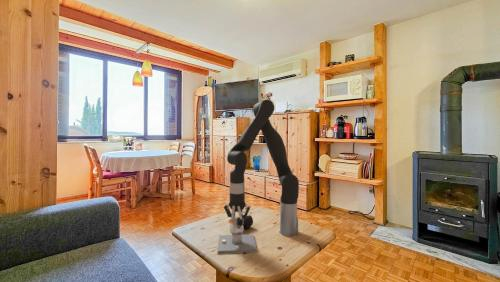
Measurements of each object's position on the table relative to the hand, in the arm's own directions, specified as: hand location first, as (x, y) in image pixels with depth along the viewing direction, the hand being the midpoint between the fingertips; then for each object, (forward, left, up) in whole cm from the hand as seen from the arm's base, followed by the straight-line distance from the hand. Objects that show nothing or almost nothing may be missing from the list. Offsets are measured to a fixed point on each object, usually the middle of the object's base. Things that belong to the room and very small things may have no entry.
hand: (237, 225), depth 112 cm
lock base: (0, 0, -9) cm, 9 cm away
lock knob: (0, +1, -3) cm, 3 cm away
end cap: (-4, -19, -10) cm, 21 cm away
